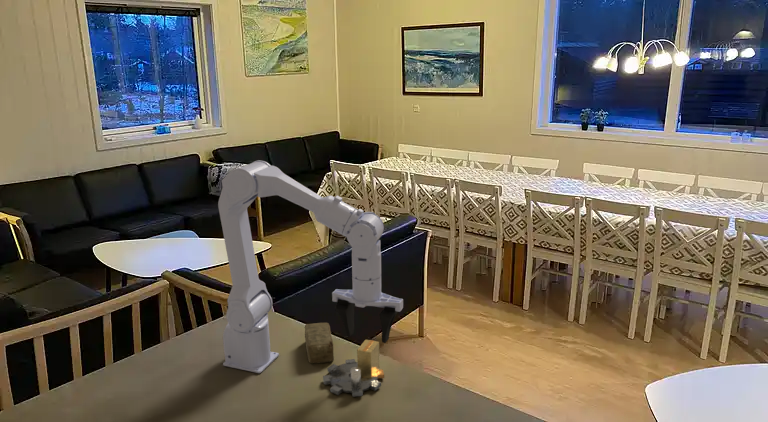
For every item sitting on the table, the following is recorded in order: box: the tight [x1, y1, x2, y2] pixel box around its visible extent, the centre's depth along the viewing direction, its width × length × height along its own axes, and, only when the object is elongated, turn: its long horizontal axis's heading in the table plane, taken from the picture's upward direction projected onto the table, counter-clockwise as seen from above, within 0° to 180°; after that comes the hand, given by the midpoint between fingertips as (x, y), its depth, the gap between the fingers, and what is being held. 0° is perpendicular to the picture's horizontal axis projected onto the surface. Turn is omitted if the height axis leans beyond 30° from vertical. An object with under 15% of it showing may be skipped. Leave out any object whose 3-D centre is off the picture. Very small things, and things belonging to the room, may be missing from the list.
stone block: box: [304, 322, 335, 364], centre depth 123 cm, size 6×12×5 cm, turn 12°
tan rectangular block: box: [356, 339, 380, 379], centre depth 112 cm, size 3×4×6 cm, turn 160°
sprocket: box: [322, 358, 385, 398], centre depth 111 cm, size 12×12×4 cm
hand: (367, 337), depth 111 cm, fingers open, 7 cm apart
